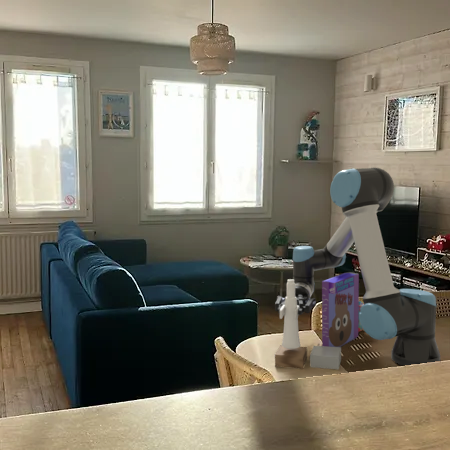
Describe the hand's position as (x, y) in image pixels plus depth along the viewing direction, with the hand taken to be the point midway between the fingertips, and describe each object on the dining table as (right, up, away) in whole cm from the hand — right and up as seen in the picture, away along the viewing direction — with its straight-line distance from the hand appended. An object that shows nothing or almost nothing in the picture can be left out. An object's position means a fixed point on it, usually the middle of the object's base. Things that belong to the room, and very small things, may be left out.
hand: (287, 314), depth 177 cm
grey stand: (+13, -17, +6) cm, 22 cm away
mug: (+30, -12, +39) cm, 50 cm away
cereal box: (+22, -14, +25) cm, 36 cm away
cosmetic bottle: (+2, -11, +7) cm, 13 cm away
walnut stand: (+2, -17, +8) cm, 18 cm away
